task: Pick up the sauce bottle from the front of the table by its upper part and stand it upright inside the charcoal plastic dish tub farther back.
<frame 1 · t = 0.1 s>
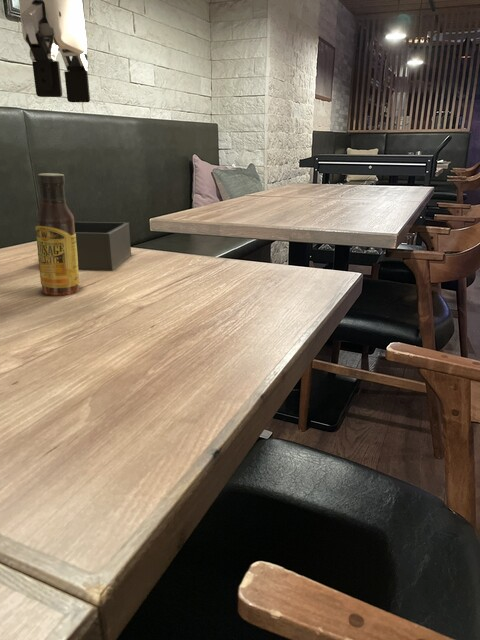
hand: (65, 99, 67), 30 cm above the table, tool pointing down, fingers open, 9 cm apart
dish tub: (89, 263, 105), on the table
sauce bottle: (62, 293, 86), on the table
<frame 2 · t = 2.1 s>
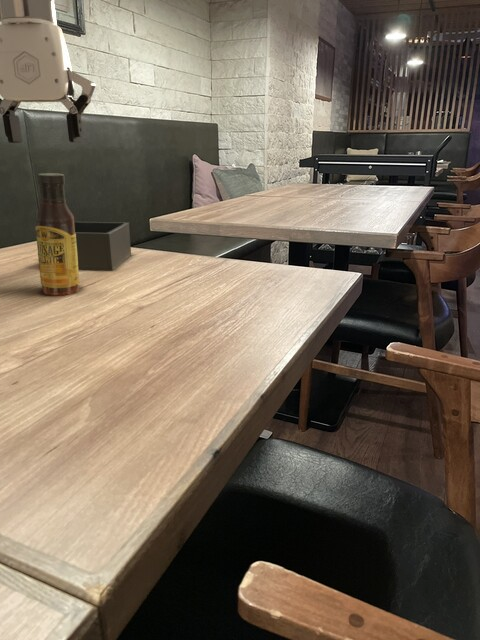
hand: (45, 142, 77), 25 cm above the table, tool pointing down, fingers open, 9 cm apart
nothing on the table moved.
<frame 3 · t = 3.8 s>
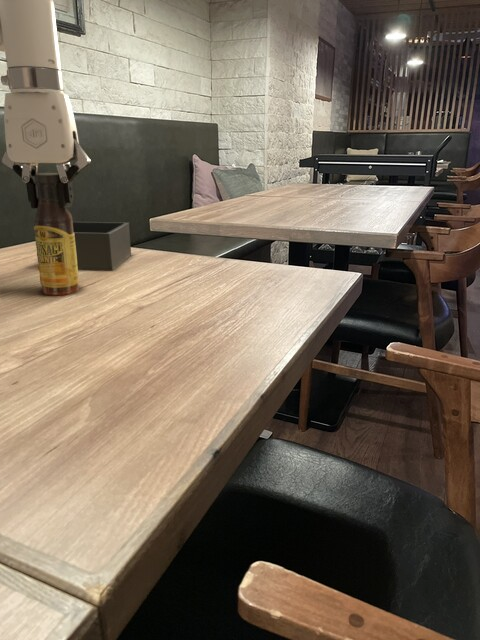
hand: (51, 206, 80), 15 cm above the table, tool pointing down, fingers closed on sauce bottle, 4 cm apart
sauce bottle: (62, 293, 86), on the table, touching gripper
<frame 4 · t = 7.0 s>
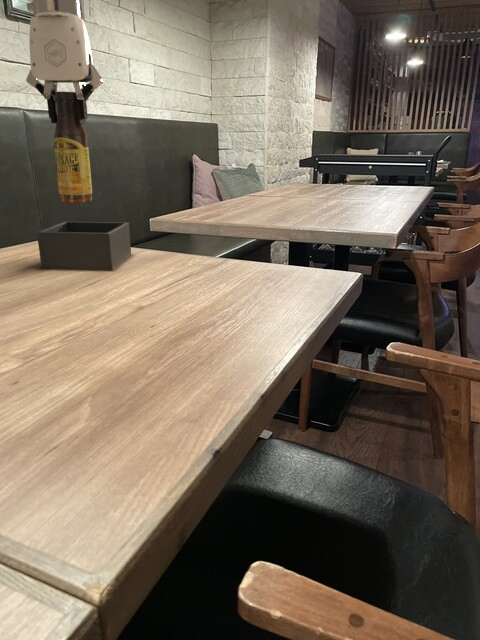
hand: (69, 122, 92), 28 cm above the table, tool pointing down, fingers closed on sauce bottle, 4 cm apart
sauce bottle: (78, 203, 97), point 13 cm above the table, touching gripper
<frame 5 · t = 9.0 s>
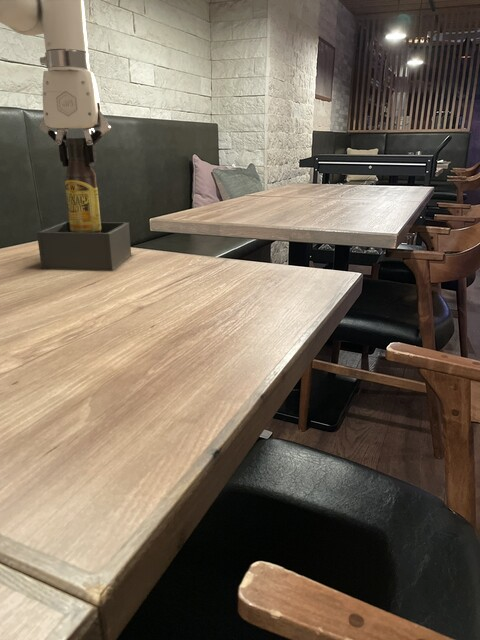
hand: (79, 165, 98), 20 cm above the table, tool pointing down, fingers closed on sauce bottle, 4 cm apart
sauce bottle: (88, 239, 103), point 5 cm above the table, touching gripper
when the fingers open (16 cm above the table, at t = 10.5 s): sauce bottle stays where it is, resting on dish tub.
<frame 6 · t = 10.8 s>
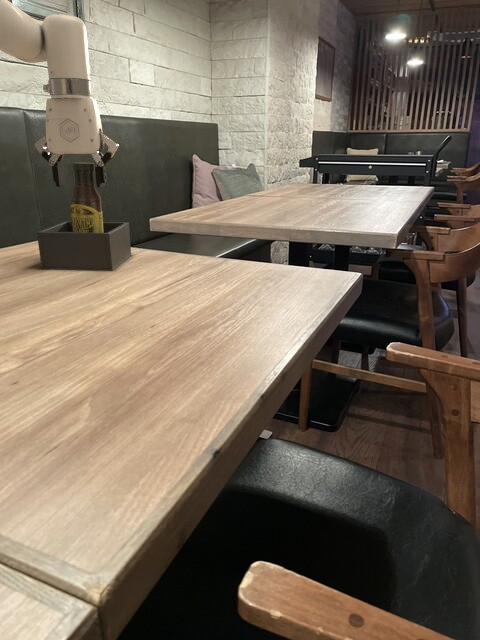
hand: (80, 186, 100), 16 cm above the table, tool pointing down, fingers open, 7 cm apart
sauce bottle: (91, 260, 105), point 1 cm above the table, touching dish tub
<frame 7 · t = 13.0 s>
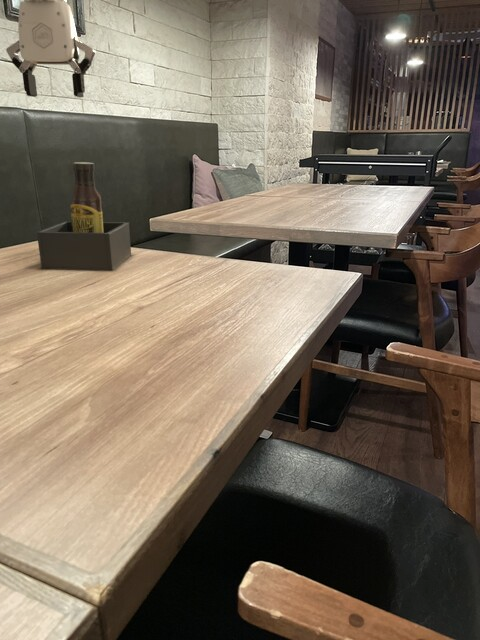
hand: (55, 96, 98), 33 cm above the table, tool pointing down, fingers open, 9 cm apart
nothing on the table moved.
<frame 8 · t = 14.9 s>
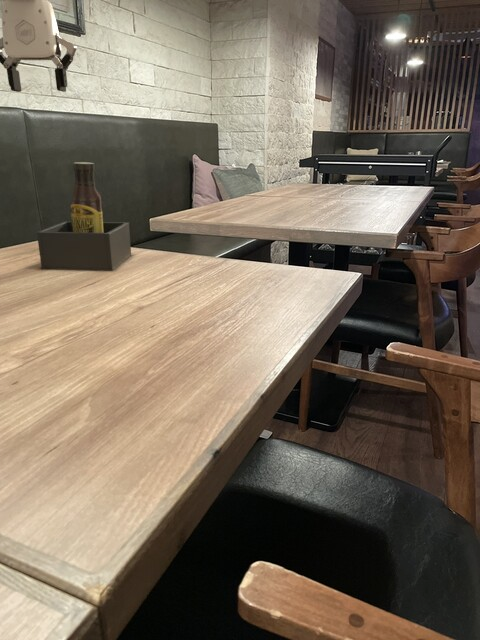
hand: (39, 91, 102), 34 cm above the table, tool pointing down, fingers open, 9 cm apart
nothing on the table moved.
at the end: sauce bottle inside the target area in the dish tub (0.5 cm from its centre), point 0.6 cm above the dish tub's base; sauce bottle tilted 0°; the gripper is holding nothing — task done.
